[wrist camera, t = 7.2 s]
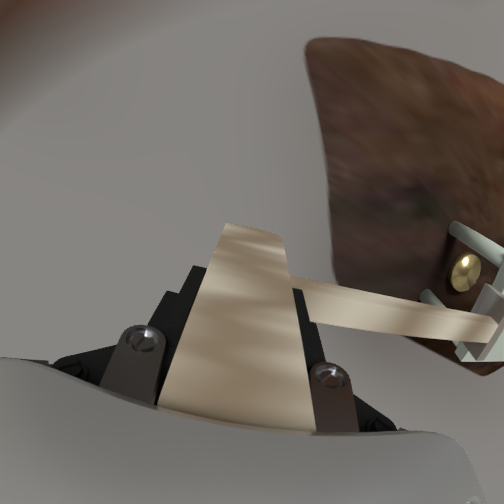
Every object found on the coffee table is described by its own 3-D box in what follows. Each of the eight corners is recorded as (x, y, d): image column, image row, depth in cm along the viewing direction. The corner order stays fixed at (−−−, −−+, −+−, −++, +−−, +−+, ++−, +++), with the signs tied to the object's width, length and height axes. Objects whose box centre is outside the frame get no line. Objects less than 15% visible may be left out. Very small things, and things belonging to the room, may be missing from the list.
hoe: (492, 285, 16) (594, 395, 3) (464, 336, 18) (542, 455, 5) (228, 213, 15) (114, 516, 2) (211, 293, 17) (146, 542, 4)
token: (479, 255, 28) (485, 260, 26) (464, 289, 29) (470, 294, 28) (457, 246, 27) (463, 251, 26) (441, 282, 29) (447, 288, 28)
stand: (518, 251, 27) (566, 286, 16) (488, 315, 31) (527, 359, 20) (451, 217, 26) (517, 256, 15) (416, 300, 30) (461, 361, 19)
